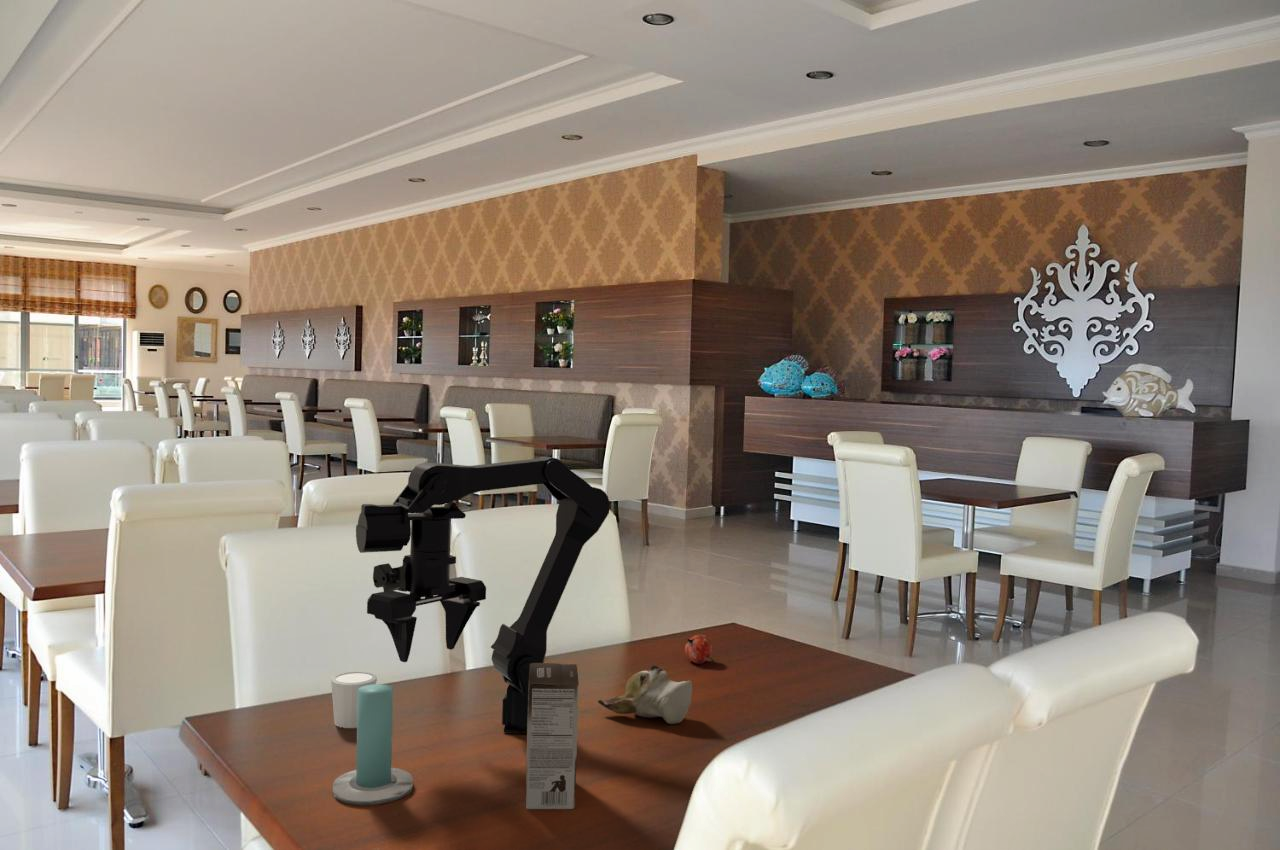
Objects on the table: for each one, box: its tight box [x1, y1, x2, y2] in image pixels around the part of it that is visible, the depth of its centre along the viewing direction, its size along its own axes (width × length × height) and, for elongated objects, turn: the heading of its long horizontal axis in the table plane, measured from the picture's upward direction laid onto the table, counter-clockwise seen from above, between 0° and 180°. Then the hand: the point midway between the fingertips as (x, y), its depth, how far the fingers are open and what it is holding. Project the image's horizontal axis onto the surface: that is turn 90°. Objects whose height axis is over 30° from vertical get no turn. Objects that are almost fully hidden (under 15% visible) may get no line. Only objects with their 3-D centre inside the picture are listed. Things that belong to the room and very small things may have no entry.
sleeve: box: [355, 683, 394, 788], centre depth 127 cm, size 4×4×12 cm
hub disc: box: [332, 766, 414, 806], centre depth 128 cm, size 10×10×1 cm
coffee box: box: [525, 662, 580, 810], centre depth 127 cm, size 9×6×16 cm
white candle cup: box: [330, 671, 378, 729], centre depth 153 cm, size 7×7×7 cm
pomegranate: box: [684, 634, 714, 665], centre depth 192 cm, size 6×6×8 cm
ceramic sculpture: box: [597, 665, 693, 725], centre depth 160 cm, size 11×9×15 cm
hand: (427, 655), depth 144 cm, fingers open, 9 cm apart
